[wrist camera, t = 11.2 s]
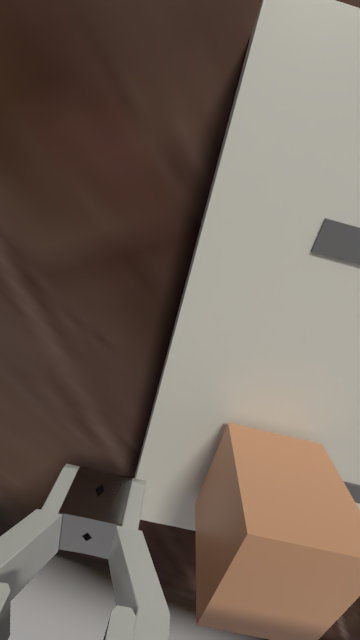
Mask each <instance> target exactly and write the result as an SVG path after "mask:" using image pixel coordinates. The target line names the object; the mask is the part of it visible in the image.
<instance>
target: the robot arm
mask: <svg viewBox="0 0 360 640" xmlns="http://www.w3.org/2000/svg"><path fill="white" fill-rule="evenodd" d="M145 488H146V481H145V480H140V479H135V478H133V479H132V477H127V476H122V475H117V474H112V473H105V472H101V471H97V470H92V469H88V468H84V467H80V466H76V465H71V464H66V465H65V466H64V467H63V469H62V471H61V473H60V475H59V477H58V478H57V480H56V482H55V484H54V486H53V488H52V490H51V492H50V494H49V496H48V498H47V499H46V501H45V503H44V505H43V507H42V509H36V510H35V511H33V512H32V513H31V514H29V515H28V516H27V517H25V518H24V519H23V520H21V521H20V522H19V523H17V524H16V525H15V526H14V527H12V528H11V529H10V530H8V531H7V532H6V533H4V534H3V535H2V536H0V640H8V638H9V636H10V601H11V600H12V599H13V598H14V597H15V596H16V595H17V594H18V593H19V592H20V591H21V590H22V589H23V588H24V586H25V585H26V584H27V583H28V582H29V581H30V580H31V579H32V578H33V577H34V576H35V575H36V574H37V573H38V572H39V571H40V570H41V569H42V567H44V565H45V564H46V563H47V562H48V561H49V560H50V559H51V558H52V557H53V556H54V555H55V554H56V553H57V552H58V549H60V550H66V551H72V552H78V553H84V554H88V555H92V556H96V557H101V558H105V559H109V560H108V562H109V568H110V573H111V579H112V584H113V590H114V595H115V601H116V607H115V608H114V609H113V610H112V612H111V616H110V619H109V622H108V626H107V629H106V632H105V636H104V640H169V627H170V612H169V609H168V606H167V603H166V600H165V597H164V595H163V591H162V588H161V585H160V582H159V579H158V576H157V573H156V571H155V568H154V565H153V562H152V559H151V556H150V553H149V550H148V547H147V544H146V541H145V538H144V535H143V532H142V531H141V530H138V527H139V522H140V516H141V510H142V505H143V499H144V493H145Z"/></svg>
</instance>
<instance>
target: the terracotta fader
mask: <svg viewBox="0 0 360 640" xmlns="http://www.w3.org/2000/svg"><path fill="white" fill-rule="evenodd" d="M195 526H196V621H197V622H196V623H197V626H203V627H208V628H213V629H218V630H224V631H229V632H234V633H239V634H245V635H250V636H255V637H261V638H266V639H271V640H318V639H319V638H320V637H321V636H322V635H323V634H324V633H325V632H326V631H327V630H328V629H329V628H330V627H331V626H332V625H333V624H334V623H335V621H336V620H337V619H338V618H339V617H340V616H341V615H342V614H343V613H344V612H345V611H346V610H347V609H348V608H349V607H350V606H351V605H352V604H353V602H354V601H355V600H356V599H357V598H358V597H359V596H360V510H359V508H358V506H357V505H356V503H355V501H354V499H353V498H352V496H351V494H350V492H349V491H348V489H347V487H346V485H345V484H344V482H343V480H342V478H341V477H340V475H339V473H338V471H337V469H336V468H335V466H334V464H333V462H332V461H331V459H330V457H329V455H328V454H327V452H326V450H325V448H324V447H323V445H322V444H319V443H315V442H311V441H306V440H302V439H298V438H293V437H289V436H285V435H280V434H276V433H272V432H267V431H263V430H259V429H255V428H250V427H246V426H242V425H237V424H233V423H229V422H228V424H227V427H226V429H225V431H224V434H223V436H222V439H221V441H220V444H219V446H218V449H217V451H216V453H215V456H214V458H213V461H212V463H211V466H210V468H209V471H208V473H207V475H206V478H205V480H204V483H203V485H202V488H201V490H200V493H199V495H198V497H197V500H196V502H195Z"/></svg>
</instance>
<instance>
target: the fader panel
mask: <svg viewBox="0 0 360 640" xmlns="http://www.w3.org/2000/svg"><path fill="white" fill-rule="evenodd" d="M228 422H229V423H233V424H237V425H242V426H246V427H250V428H255V429H259V430H263V431H267V432H272V433H276V434H280V435H285V436H289V437H293V438H298V439H302V440H306V441H311V442H315V443H319V444H322V445H323V447H324V448H325V450H326V452H327V454H328V455H329V457H330V459H331V461H332V462H333V464H334V466H335V468H336V469H337V471H338V473H339V475H340V477H341V478H342V480H343V482H344V484H345V485H346V487H347V489H348V491H349V492H350V494H351V496H352V498H353V499H354V501H355V503H356V505H357V506H358V508H359V510H360V8H357V7H354V6H351V5H348V4H345V3H342V2H339V1H336V0H262V3H261V6H260V9H259V12H258V15H257V18H256V21H255V24H254V27H253V30H252V33H251V37H250V41H249V45H248V48H247V52H246V56H245V60H244V64H243V67H242V71H241V75H240V79H239V82H238V86H237V90H236V94H235V98H234V101H233V105H232V109H231V113H230V117H229V120H228V124H227V128H226V132H225V135H224V139H223V143H222V147H221V151H220V154H219V158H218V162H217V166H216V170H215V173H214V177H213V181H212V185H211V188H210V192H209V196H208V200H207V204H206V207H205V211H204V215H203V219H202V223H201V226H200V230H199V234H198V238H197V241H196V245H195V249H194V253H193V257H192V260H191V264H190V268H189V272H188V276H187V279H186V283H185V287H184V291H183V294H182V298H181V302H180V306H179V310H178V313H177V317H176V321H175V325H174V329H173V332H172V336H171V340H170V344H169V347H168V351H167V355H166V359H165V363H164V366H163V370H162V374H161V378H160V382H159V385H158V389H157V393H156V397H155V400H154V404H153V408H152V412H151V416H150V419H149V423H148V427H147V431H146V435H145V438H144V442H143V446H142V450H141V454H140V457H139V461H138V465H137V469H136V472H135V476H134V478H135V479H140V480H145V481H146V488H145V493H144V499H143V505H142V510H141V516H140V520H145V521H150V522H154V523H159V524H164V525H169V526H174V527H178V528H183V529H188V530H193V531H196V526H195V502H196V500H197V497H198V495H199V493H200V490H201V488H202V485H203V483H204V480H205V478H206V475H207V473H208V471H209V468H210V466H211V463H212V461H213V458H214V456H215V453H216V451H217V449H218V446H219V444H220V441H221V439H222V436H223V434H224V431H225V429H226V427H227V424H228Z"/></svg>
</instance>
